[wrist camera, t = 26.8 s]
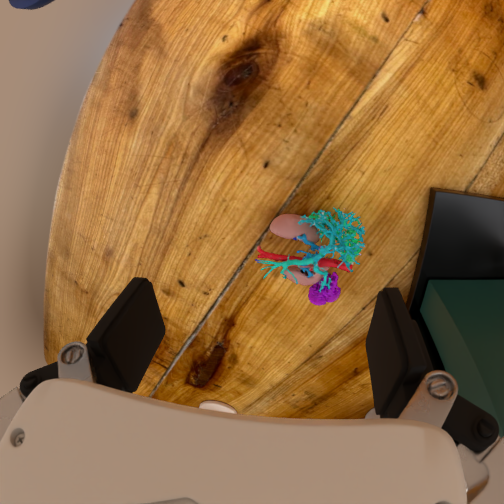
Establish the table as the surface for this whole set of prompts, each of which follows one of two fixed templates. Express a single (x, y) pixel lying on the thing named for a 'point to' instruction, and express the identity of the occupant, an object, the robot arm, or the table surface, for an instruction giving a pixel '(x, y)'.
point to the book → (470, 338)
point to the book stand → (457, 248)
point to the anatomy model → (315, 265)
